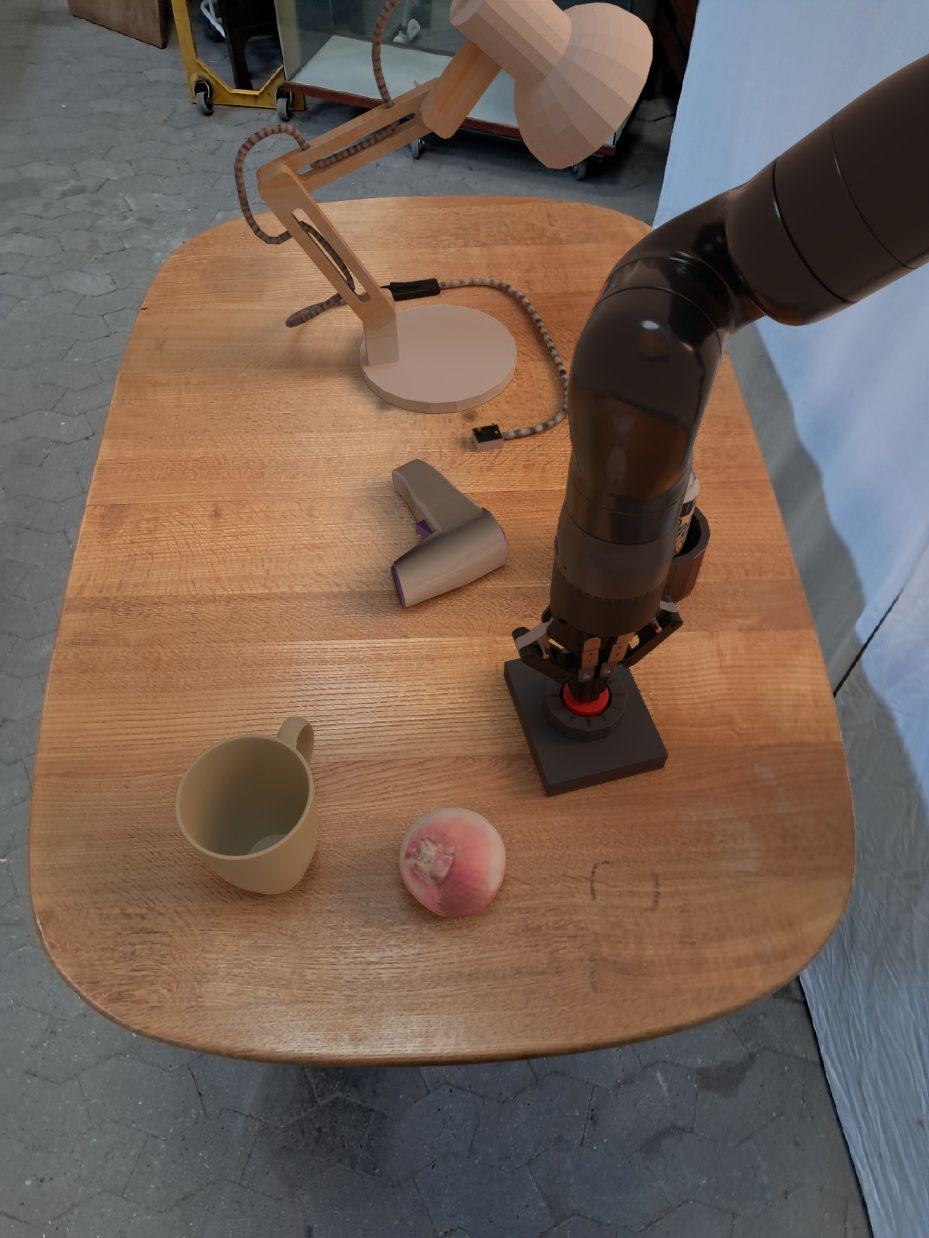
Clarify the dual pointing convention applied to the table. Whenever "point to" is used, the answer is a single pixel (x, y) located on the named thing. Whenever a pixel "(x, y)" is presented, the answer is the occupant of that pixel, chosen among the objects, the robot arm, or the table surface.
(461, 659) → the table surface
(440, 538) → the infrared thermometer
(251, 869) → the mug
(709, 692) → the table surface
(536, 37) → the desk lamp
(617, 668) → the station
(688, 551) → the holder
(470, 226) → the table surface
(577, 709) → the button
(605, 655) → the robot arm
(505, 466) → the table surface
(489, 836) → the onion
